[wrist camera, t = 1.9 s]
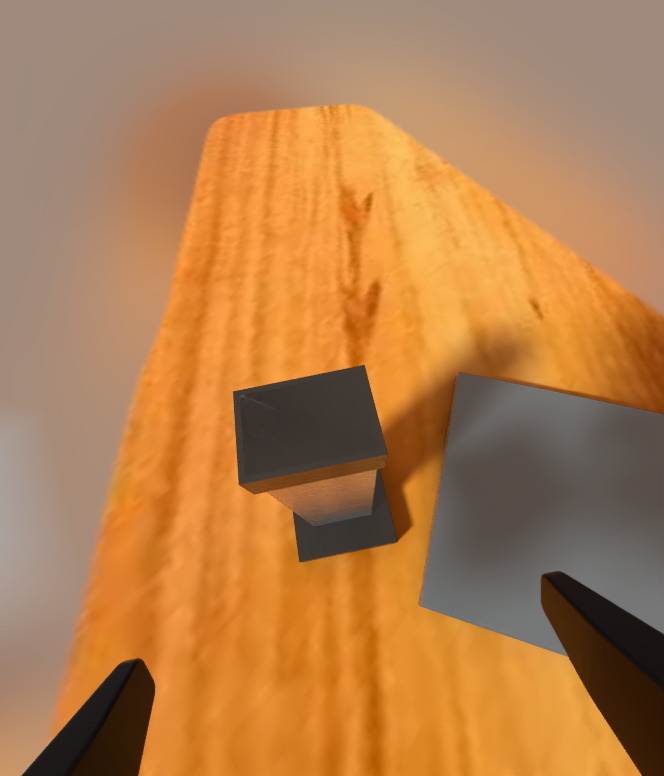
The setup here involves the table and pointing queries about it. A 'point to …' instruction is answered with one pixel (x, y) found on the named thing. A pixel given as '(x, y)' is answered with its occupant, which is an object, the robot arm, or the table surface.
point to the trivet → (544, 507)
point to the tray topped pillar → (318, 459)
